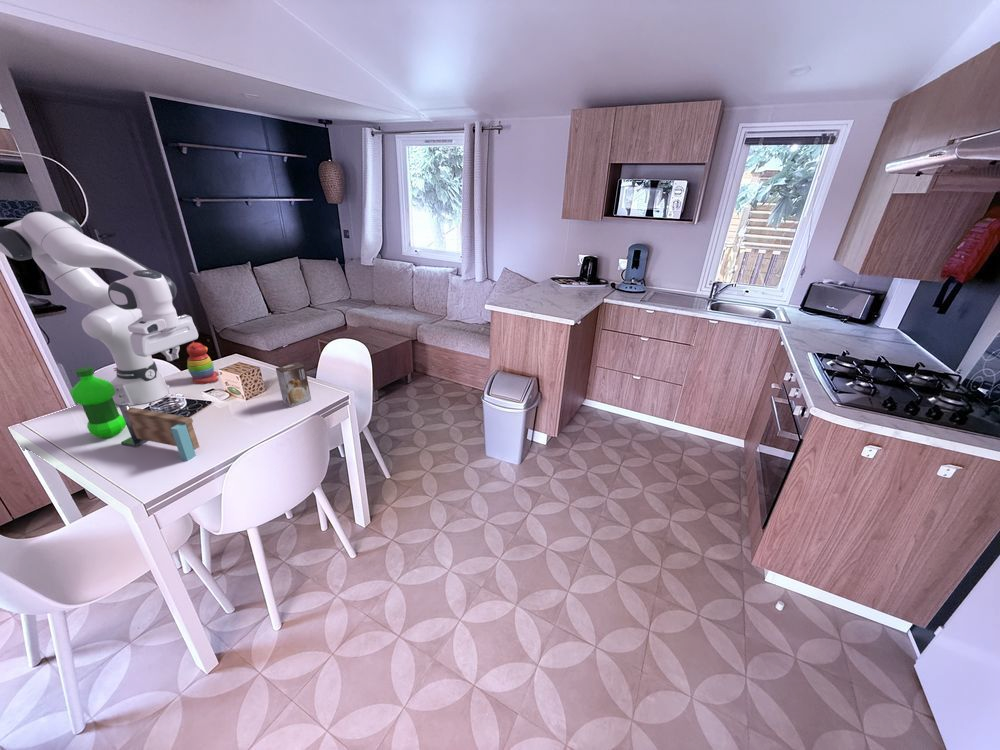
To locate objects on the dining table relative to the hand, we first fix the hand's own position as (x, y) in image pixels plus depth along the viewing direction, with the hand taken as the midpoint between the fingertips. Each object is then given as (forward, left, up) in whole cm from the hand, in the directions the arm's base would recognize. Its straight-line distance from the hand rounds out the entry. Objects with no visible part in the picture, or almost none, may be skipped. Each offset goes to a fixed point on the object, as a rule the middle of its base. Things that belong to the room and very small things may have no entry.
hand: (173, 359), depth 138 cm
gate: (+5, -14, -24) cm, 29 cm away
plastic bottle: (-21, -13, -26) cm, 36 cm away
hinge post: (-8, -14, -26) cm, 31 cm away
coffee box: (+24, +26, -27) cm, 44 cm away
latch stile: (+16, -17, -26) cm, 35 cm away
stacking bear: (-28, +32, -27) cm, 50 cm away
